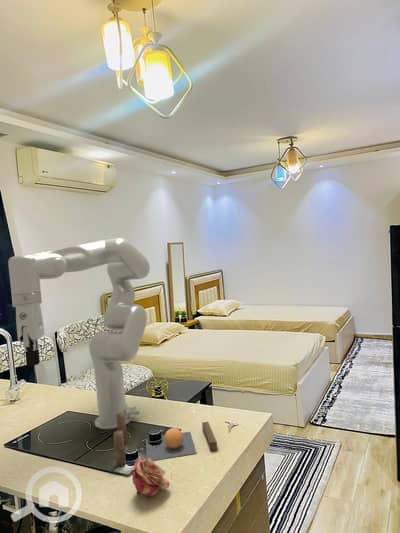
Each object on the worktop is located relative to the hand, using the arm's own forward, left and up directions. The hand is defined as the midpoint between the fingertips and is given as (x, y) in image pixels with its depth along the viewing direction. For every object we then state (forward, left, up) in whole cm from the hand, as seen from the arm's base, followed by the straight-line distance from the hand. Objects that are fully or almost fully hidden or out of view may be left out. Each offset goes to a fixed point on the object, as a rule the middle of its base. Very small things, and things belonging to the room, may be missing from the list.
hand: (33, 364), depth 110 cm
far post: (-22, -6, -29) cm, 37 cm away
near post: (-22, +6, -29) cm, 37 cm away
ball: (-37, +1, -26) cm, 46 cm away
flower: (-30, +22, -29) cm, 47 cm away
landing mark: (-36, 0, -29) cm, 46 cm away
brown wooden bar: (-48, 0, -29) cm, 56 cm away
